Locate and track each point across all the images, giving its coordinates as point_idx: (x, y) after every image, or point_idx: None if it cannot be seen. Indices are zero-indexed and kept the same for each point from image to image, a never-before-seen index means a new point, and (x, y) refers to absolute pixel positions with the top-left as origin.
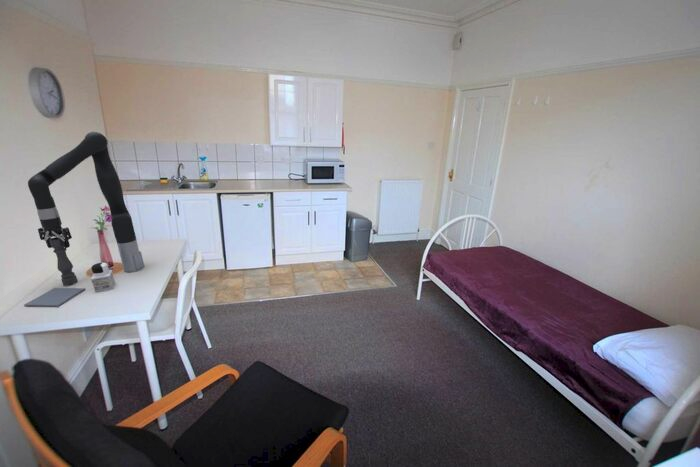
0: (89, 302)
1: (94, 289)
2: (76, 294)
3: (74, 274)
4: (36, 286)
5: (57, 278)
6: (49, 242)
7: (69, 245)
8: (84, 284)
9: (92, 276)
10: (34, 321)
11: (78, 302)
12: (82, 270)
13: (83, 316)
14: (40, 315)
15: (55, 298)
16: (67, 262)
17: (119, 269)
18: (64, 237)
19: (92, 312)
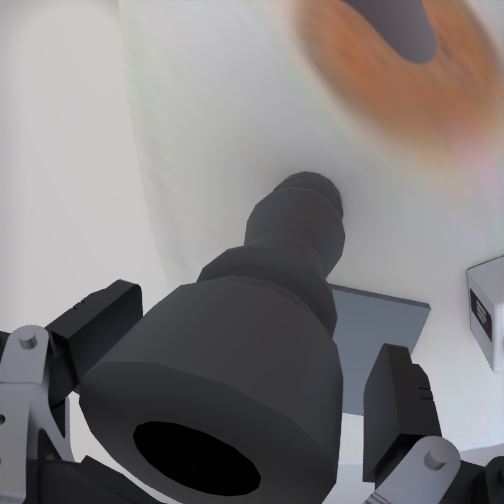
0: (466, 394)
1: (476, 338)
2: (411, 351)
3: (338, 210)
4: (157, 219)
5: (190, 133)
6: (95, 358)
7: (421, 375)
8: (396, 237)
9: (497, 355)
10: (346, 457)
11: (433, 392)
12: (262, 35)
13: (461, 447)
14: (346, 439)
15: (343, 376)
16: (331, 269)
17: (481, 65)
18: (384, 498)
19: (479, 434)
